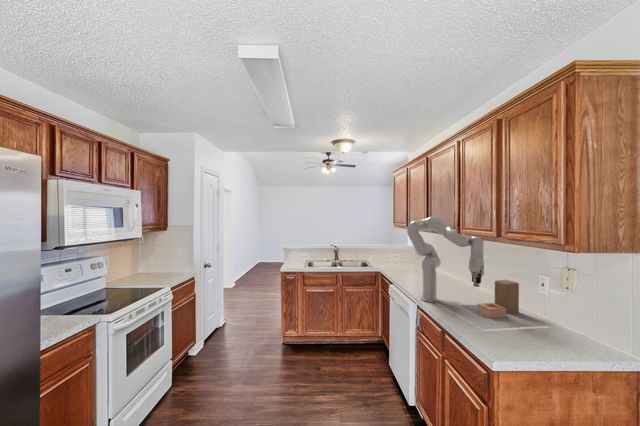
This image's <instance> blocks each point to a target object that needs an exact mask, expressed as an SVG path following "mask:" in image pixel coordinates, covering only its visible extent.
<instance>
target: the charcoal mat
mask: <svg viewBox="0 0 640 426" xmlns="http://www.w3.org/2000/svg"><path fill="white" fill-rule="evenodd" d="M459 306H460V307H462V308H464V309H466V310H467V311H468V312H471V313H473V314H476V315H477V316H479V317H482V318H483V319H485V320H488V319H491V318H488V317H486V316H484V315H482V314H480V313H478V304H465V305H464V304H463V305H459ZM504 318H505V319H507V318H510V316H509V315H508V314H506V317H501V318H500V319H504Z"/></svg>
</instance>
